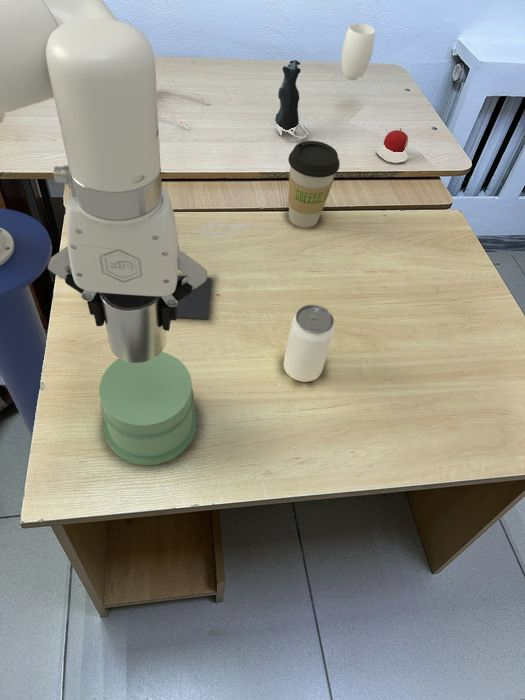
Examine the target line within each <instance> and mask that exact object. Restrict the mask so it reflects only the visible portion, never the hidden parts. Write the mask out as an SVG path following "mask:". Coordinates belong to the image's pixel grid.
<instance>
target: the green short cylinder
mask: <svg viewBox="0 0 525 700" xmlns="http://www.w3.org/2000/svg"><path fill="white" fill-rule="evenodd" d="M98 394H99V395H98V396H99V399H100V409H101V413H102V417H103V431H104V436H105V440H106V442H107V444H108V446H109V448H110V449H111V451H112V452H114V454H115V455H117V456H118V457H119V458H120V459H122V460H123V461H126V462H127V463H131V464H134V465H139V466H157V465H161V464H165V463H167V462H169V461H170V462H171V461H172V460H174V459H176V458H177V457H179V456H180V455H182V453H183V452H184V451H186V450H187V448H188V447H189V446H190V444H191V443H192V441H193V440H194V437H195V434H196V433H197V432H196V431H197V423H198V422H197V417H198V416H197V412H196V408H195V406H194V388H193V382H192V377H191V374H190V372H189V370H188V368H187V367H186V365H184V363H183V362H182V361H181V360H180V359H178V358H177V357H175V356H174V355H172V354H169V353H167V352H164V351H162V352H161V353H160V354H159V355H158V356H157V357H155V358H154V359H152V360H149V361H146V362H142V363H131V362H126V361H123V360H121V359H119V358H118V359H116V360H114V362H112V363H111V364H109V366H108V367H107V368H106V370H105V371H104V373H102V377H100V382H99V387H98Z"/></svg>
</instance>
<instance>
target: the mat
mask: <svg viewBox="0 0 525 700" xmlns="http://www.w3.org/2000/svg"><path fill="white" fill-rule="evenodd" d="M183 276H184V275H178V280H179V279H180V278H182V277H183ZM212 279H213V278H212V277H208V276H207V278H206V281H205V282H204V283H203V284H201V285H200V286H199V287H197V288H196V289H195V288H194V289H193V290H192V292H191V293H190V294H189V295H187V296H186V297H184V298H182V299H181V300H179V301H178V302H177V318H176V319H187V320H188V319H189V320H204V321H208V320H209V315H210V305H211V303H210V302H211V292H212V290H211V289H212Z"/></svg>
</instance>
